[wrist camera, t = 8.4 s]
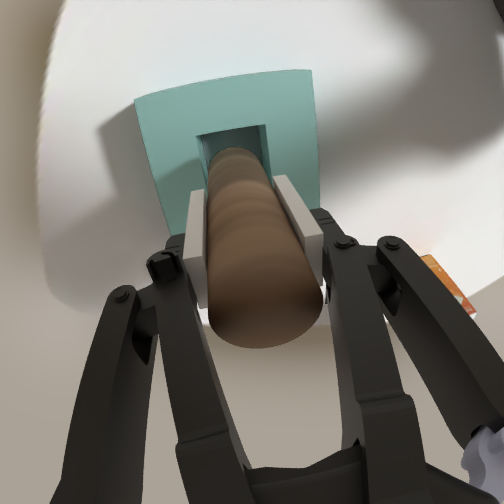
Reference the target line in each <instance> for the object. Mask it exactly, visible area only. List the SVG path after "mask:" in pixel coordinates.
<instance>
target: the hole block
mask: <svg viewBox="0 0 504 504" xmlns="http://www.w3.org/2000/svg"><path fill="white" fill-rule="evenodd" d="M134 104H135V108H136V113H137V117H138V121H139V125H140V129H141V133H142V137H143V141H144V145H145V149H146V153H147V157H148V160H149V164H150V168H151V171H152V175H153V178H154V182H155V185H156V189H157V192H158V196H159V199H160V202H161V206H162V209H163V212H164V216H165V219H166V222H167V225H168V228H169V231H170V235H171V236H172V235H177V234H182V233H186V226H187V218H188V210H189V203H190V195H191V191H195V190H200V189H204V191H205V195H206V199H207V183H208V170H207V165H206V160H205V155H204V150H203V145H202V140H201V135H202V134H208V133H213V132H218V131H224V130H229V129H235V128H242V127H248V126H255V125H258V127H259V134H260V142H261V149H262V157H263V165H264V168H263V169H264V171H265V173H266V175H267V177H268V179H269V181H270V183H271V185H272V187H273V189H274V185H273V176H279V175H286V176H287V178H288V179H289V181H290V182H291V184H292V185H293V187H294V188H295V190H296V191H297V193H298V194H299V196H300V197H301V199H302V200H303V202H304V203H305V205H306V206H307V208H308V210H310V209H316V208H320V187H319V162H318V143H317V128H316V114H315V102H314V91H313V80H312V71H311V70H282V71H271V72H261V73H253V74H245V75H237V76H231V77H224V78H218V79H213V80H207V81H202V82H197V83H192V84H188V85H183V86H179V87H174V88H170V89H166V90H162V91H158V92H155V93H151V94H147V95H144V96H142V97H139V98H136V99H134Z"/></svg>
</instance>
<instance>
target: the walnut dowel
mask: <svg viewBox="0 0 504 504" xmlns="http://www.w3.org/2000/svg"><path fill="white" fill-rule="evenodd" d="M207 294H208V319H209V323H210V325H211V328H212V329H213V331H214V332H215V333H216V334H217V335H218V336H219V337H220V338H222V339H223V340H225V341H226V342H228V343H230V344H233V345H236V346H240V347H244V348H268V347H274V346H278V345H281V344H284V343H287V342H289V341H291V340H294V339H295V338H297V337H299V336H300V335H302V334H303V333H305V332H306V331H307V330H308V329H309V328H310V327H311V326H312V325H313V324H314V323H315V322H316V320H317V319H318V317H319V315H320V313H321V310H322V307H323V294H322V291H321V288H320V286H319V284H318V282H317V280H316V277H315V275H314V273H313V271H312V269H311V266H310V264H309V262H308V260H307V258H306V256H305V253H304V251H303V249H302V247H301V245H300V243H299V241H298V238H297V236H296V234H295V232H294V230H293V228H292V226H291V224H290V222H289V220H288V218H287V215H286V213H285V211H284V209H283V207H282V205H281V203H280V201H279V199H278V197H277V195H276V193H275V191H274V189H273V187H272V185H271V183H270V181H269V179H268V177H267V175H266V173H265V171H264V169H263V167H262V165H261V163H260V161H259V160H258V158H257V157H256V155H255V154H254V153H252V152H251V151H249V150H247V149H245V148H241V147H230V148H226V149H224V150H222V151H220V152H219V153H217V154H216V155H215V156H214V157H213V159H212V160H211V162H210V164H209V167H208V183H207Z"/></svg>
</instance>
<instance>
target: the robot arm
mask: <svg viewBox="0 0 504 504" xmlns="http://www.w3.org/2000/svg"><path fill="white" fill-rule="evenodd" d="M494 2H495V4H496V7H497V9H498V11H499V13H500V15H501V17H502V19H503V21H504V0H494ZM273 185H274V191H275V193H276V195H277V197H278V199H279V201H280V203H281V205H282V207H283V209H284V211H285V213H286V215H287V218H288V220H289V222H290V224H291V226H292V228H293V230H294V232H295V234H296V236H297V238H298V241H299V243H300V245H301V247H302V249H303V251H304V253H305V256H306V258H307V260H308V262H309V264H310V266H311V269H312V271H313V273H314V275H315V277H316V280H317V282H318V284H319V286H323V277H324V280H325V282H326V299H325V304H328V309H329V315H330V322H331V329H332V336H333V344H334V352H335V360H336V368H337V377H338V386H339V396H340V406H341V417H342V418H341V419H342V448H341V450H340V451H338V452H336V453H334V454H332V455H330V456H328V457H327V458H325V459H323V460H321V461H319V462H317V463H315V464H313V465H311V466H309V467H306V468H274V467H263V468H257V469H252V467H251V465H250V462H249V460H248V458H247V456H246V454H245V452H244V449H243V446H242V444H241V441H240V438H239V435H238V433H237V430H236V427H235V425H234V422H233V419H232V416H231V413H230V410H229V407H228V404H227V402H226V399H225V396H224V393H223V390H222V387H221V384H220V381H219V378H218V375H217V371H216V368H215V365H214V362H213V359H212V356H211V352H210V349H209V346H208V343H207V339H206V336H205V332H204V329H203V325H202V322H201V319H200V315H199V313H198V310H197V302H198V305H199V308H200V309H203V308H208V294H207V199H206V195H205V191H204V189H200V190H195V191H191V195H190V203H189V210H188V218H187V226H186V233H182V234H177V235H172V236H171V237H170V238H169V239H168V241H167V242H166V246H165V250H163V251H160V252H157V253H155V254H154V255H152V256H151V257H150V258H149V259H148V260H147V263H146V266H147V268H148V271H149V273H150V275H151V278H152V280H153V283H152V284H151V285H149V286H147V287H145V288H143V289H141V290H138V291H136V289H135V288H134V287H133V286H131V285H123V286H120V287H118V288H116V289H114V290H113V291H112V292H111V293H110V295H109V296H108V298H107V301H106V303H105V306H104V309H103V312H102V315H101V317H100V320H99V323H98V326H97V329H96V332H95V335H94V338H93V341H92V345H91V348H90V351H89V355H88V357H87V361H86V364H85V368H84V371H83V375H82V378H81V382H80V386H79V390H78V394H77V398H76V402H75V406H74V410H73V415H72V420H71V424H70V429H69V433H68V439H67V444H66V450H65V456H64V462H63V468H62V475H61V480H60V482H59V485H58V487H57V489H56V491H55V493H54V495H53V497H52V499H51V501H50V504H141V502H142V491H143V469H144V454H145V440H146V429H147V418H148V408H149V398H150V390H151V383H152V374H153V368H154V361H155V354H156V346H157V340H158V334H159V338H160V345H161V352H162V359H163V364H164V371H165V377H166V382H167V388H168V393H169V398H170V403H171V408H172V413H173V418H174V422H175V426H176V431H177V435H178V443H177V445H176V448H175V452H176V457H177V462H178V465H179V469H180V473H181V476H182V480H183V484H184V488H185V491H186V494H187V498H188V501H189V504H501V503H502V502H503V500H504V362H503V361H502V359H501V358H500V356H499V355H498V353H497V352H496V351H495V349H494V348H493V346H492V345H491V343H490V342H489V341H488V339H487V338H486V336H485V335H484V334H483V332H482V331H481V330H480V328H479V327H478V326H477V324H476V323H475V322H474V320H473V319H472V318H471V317H470V315H469V314H468V313H467V312H466V310H465V309H464V308H463V307H462V305H461V304H460V303H459V302H458V300H457V299H456V298H455V297H454V296H453V294H452V293H451V292H450V291H449V290H448V288H447V287H446V286H445V285H444V284H443V283H442V281H441V280H440V279H439V278H438V277H437V276H436V275H435V273H434V272H433V271H432V270H431V269H430V268H429V267H428V266H427V265H426V263H425V262H424V261H423V260H422V259H421V258H420V257H419V256H418V255H417V254H416V253H415V252H414V251H413V250H412V248H411V247H410V246H409V245H408V244H407V243H406V242H405V241H403V240H402V239H401V238H398V237H395V236H384V237H381V238H380V239H379V240H378V242H377V246H365V245H359V243H358V241H357V240H356V239H355V238H353V237H351V236H348V235H345V234H344V232H343V231H342V230H341V228H340V227H339V225H338V224H337V223H336V221H335V220H334V219H333V218H332V216H331V215H330V213H329V212H328V211H326V210H324V209H323V208H316V209H310V210H308V208H307V206H306V205H305V203H304V202H303V200H302V199H301V197H300V196H299V194H298V193H297V191H296V190H295V188H294V187H293V185H292V184H291V182H290V181H289V179H288V178H287V176H286V175H279V176H273ZM382 312H383V313H382ZM383 314H384V315H385V317H386V319H387V320H388V322H389V323H390V325H391V326H392V328H393V330H394V331H395V333H396V334H397V336H398V338H399V340H400V341H401V343H402V345H403V346H404V348H405V349H406V351H407V353H408V355H409V356H410V358H411V360H412V361H413V363H414V365H415V367H416V368H417V370H418V372H419V374H420V376H421V377H422V379H423V381H424V383H425V384H426V386H427V388H428V390H429V392H430V394H431V395H432V397H433V399H434V401H435V403H436V405H437V407H438V409H439V411H440V413H441V415H442V416H443V418H444V420H445V422H446V424H447V426H448V428H449V430H450V431H451V433H452V435H453V436H454V438H455V439H456V441H457V442H458V443H459V445H460V446H461V447H462V448H463V449H464V453H463V458H462V460H461V466H462V468H463V469H465V470H467V471H468V473H469V477H470V480H469V484H468V483H466V482H464V481H462V480H459V479H457V478H455V477H453V476H451V475H449V474H447V473H445V472H443V471H441V470H439V469H438V468H436V467H434V466H432V465H430V464H428V463H426V462H425V457H424V450H423V444H422V438H421V433H420V427H419V422H418V417H417V413H416V408H415V404H414V401H413V399H412V397H411V396H410V395H407V394H405V393H404V391H403V387H402V383H401V379H400V375H399V371H398V367H397V363H396V359H395V355H394V351H393V347H392V344H391V340H390V336H389V333H388V329H387V326H386V323H385V319H384V316H383Z"/></svg>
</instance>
